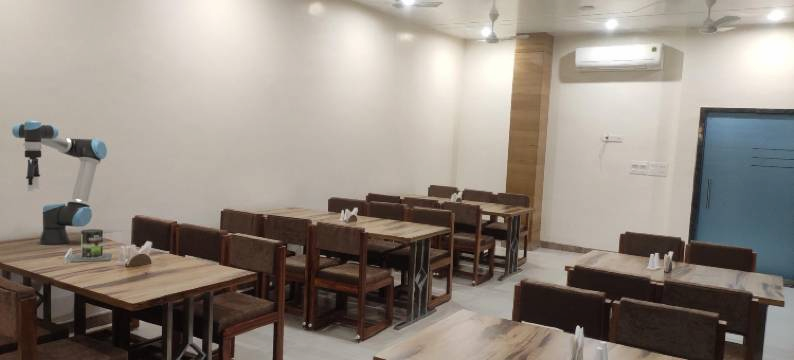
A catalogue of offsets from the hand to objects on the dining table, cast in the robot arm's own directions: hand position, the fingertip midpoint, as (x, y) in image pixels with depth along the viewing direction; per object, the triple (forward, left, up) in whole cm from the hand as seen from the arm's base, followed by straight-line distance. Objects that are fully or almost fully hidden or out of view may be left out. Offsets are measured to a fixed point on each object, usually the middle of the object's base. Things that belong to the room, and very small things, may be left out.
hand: (33, 190), depth 309 cm
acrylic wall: (+17, +18, -35) cm, 43 cm away
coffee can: (+17, +29, -34) cm, 48 cm away
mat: (+17, +29, -35) cm, 48 cm away
